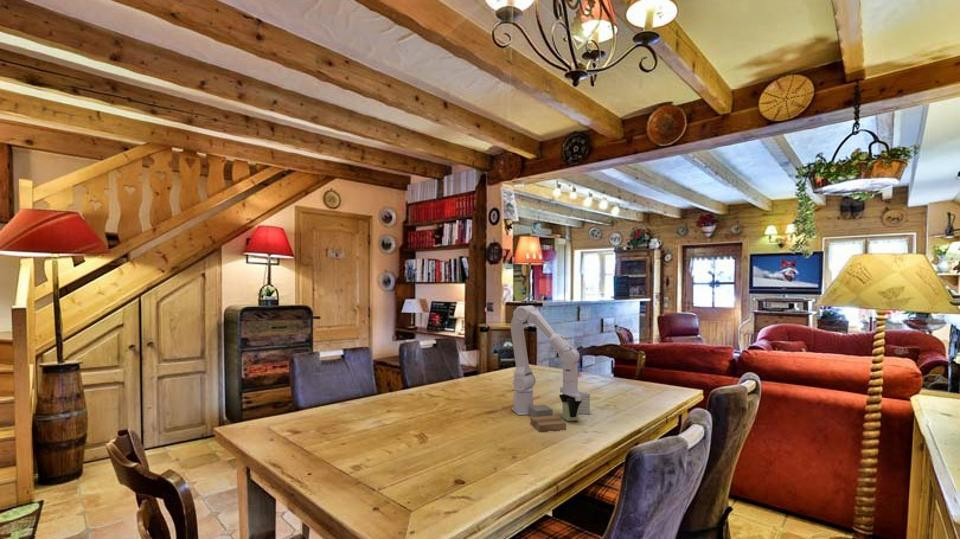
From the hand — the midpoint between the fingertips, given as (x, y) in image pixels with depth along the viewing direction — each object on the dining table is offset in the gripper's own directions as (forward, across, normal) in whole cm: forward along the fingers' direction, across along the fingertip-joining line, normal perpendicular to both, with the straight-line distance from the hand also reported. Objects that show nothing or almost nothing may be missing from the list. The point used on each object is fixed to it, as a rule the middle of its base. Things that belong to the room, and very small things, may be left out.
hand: (570, 415), depth 172 cm
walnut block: (+2, -6, +12) cm, 14 cm away
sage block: (+1, 0, 0) cm, 1 cm away
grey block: (+2, +6, +10) cm, 12 cm away
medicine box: (+2, +8, -8) cm, 12 cm away
